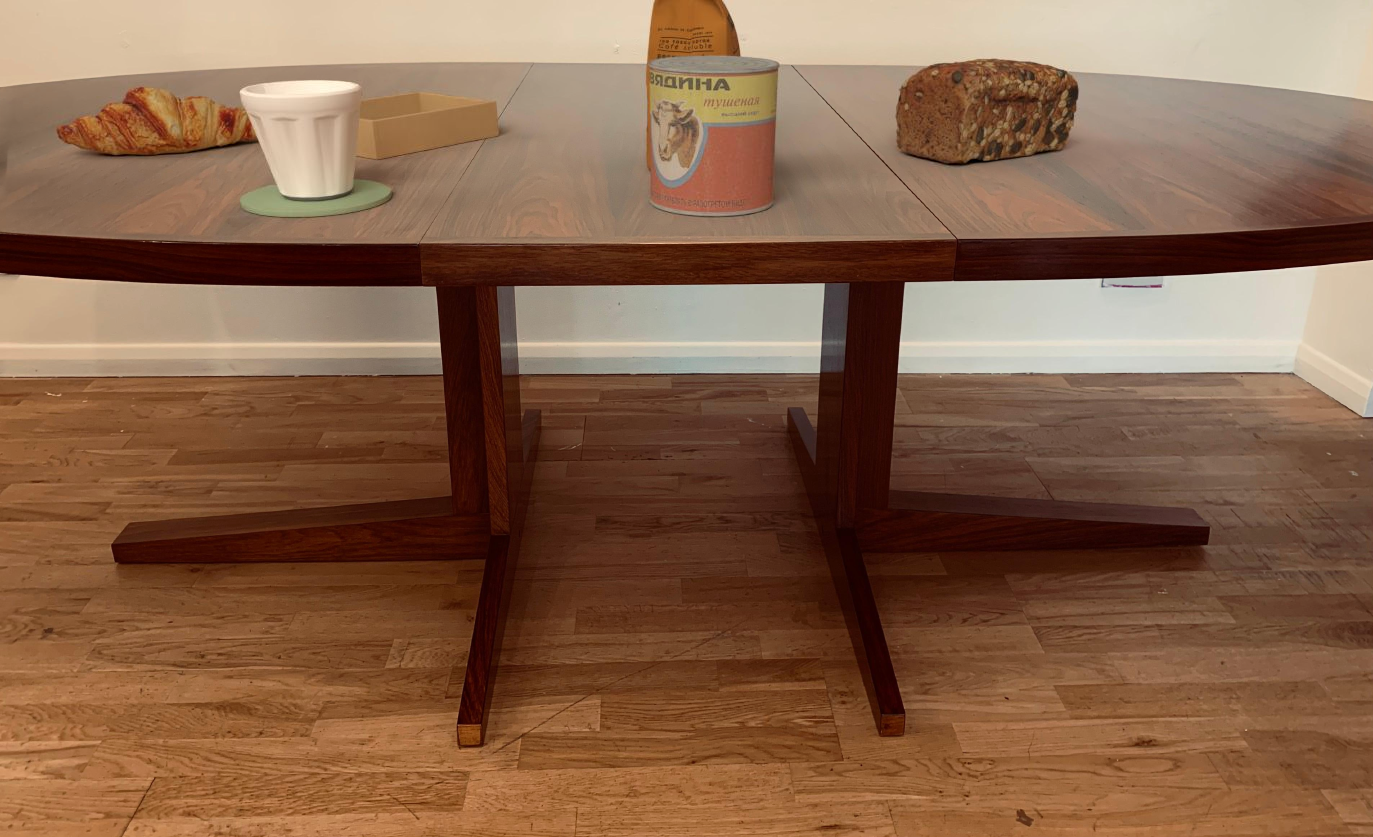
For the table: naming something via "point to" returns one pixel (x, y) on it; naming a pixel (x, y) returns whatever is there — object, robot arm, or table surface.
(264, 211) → the mat
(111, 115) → the croissant
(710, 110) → the canned food
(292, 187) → the cup
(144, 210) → the table surface
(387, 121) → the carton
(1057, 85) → the bread
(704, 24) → the coffee package
